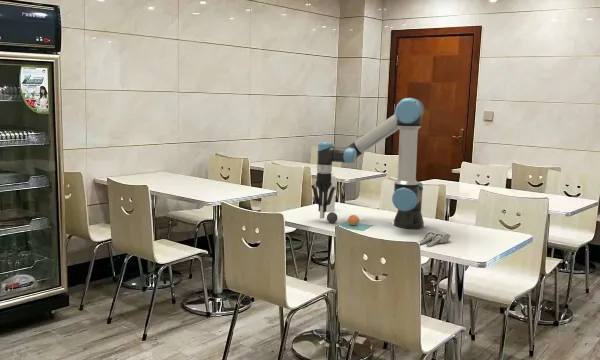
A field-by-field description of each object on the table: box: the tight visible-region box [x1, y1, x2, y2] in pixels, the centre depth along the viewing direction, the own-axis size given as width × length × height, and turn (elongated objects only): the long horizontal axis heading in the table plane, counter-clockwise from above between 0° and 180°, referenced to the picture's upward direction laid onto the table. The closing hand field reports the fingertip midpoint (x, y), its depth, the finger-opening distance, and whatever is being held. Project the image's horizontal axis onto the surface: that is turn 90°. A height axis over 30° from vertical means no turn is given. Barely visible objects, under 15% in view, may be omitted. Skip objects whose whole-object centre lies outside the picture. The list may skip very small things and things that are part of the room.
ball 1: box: [326, 211, 338, 224], centre depth 301 cm, size 6×6×6 cm
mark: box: [339, 221, 373, 231], centre depth 296 cm, size 14×14×1 cm
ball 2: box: [347, 214, 360, 226], centre depth 296 cm, size 6×6×6 cm
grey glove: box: [418, 229, 451, 247], centre depth 269 cm, size 10×20×5 cm, turn 140°
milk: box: [322, 172, 337, 213], centre depth 332 cm, size 6×6×22 cm
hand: (322, 217), depth 303 cm, fingers closed
